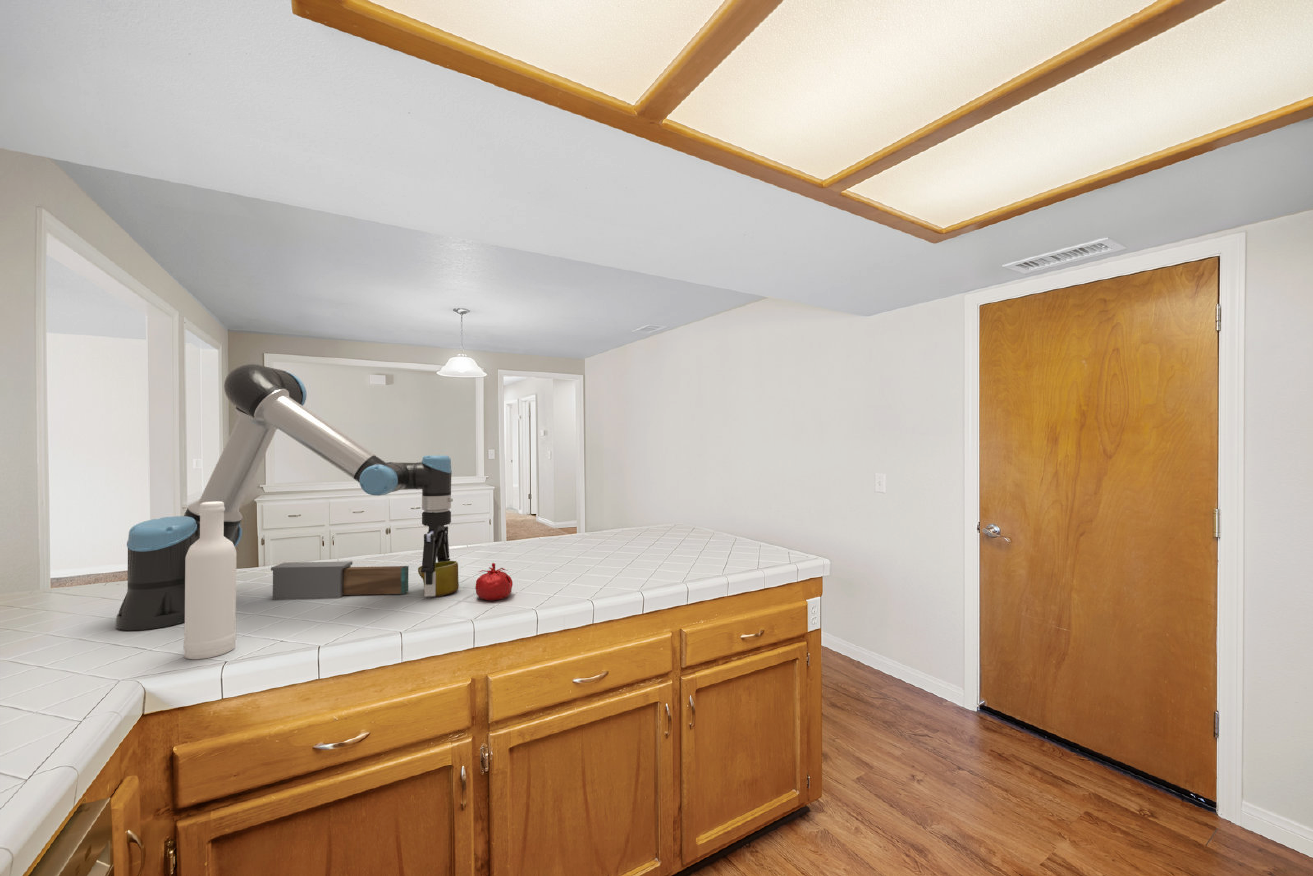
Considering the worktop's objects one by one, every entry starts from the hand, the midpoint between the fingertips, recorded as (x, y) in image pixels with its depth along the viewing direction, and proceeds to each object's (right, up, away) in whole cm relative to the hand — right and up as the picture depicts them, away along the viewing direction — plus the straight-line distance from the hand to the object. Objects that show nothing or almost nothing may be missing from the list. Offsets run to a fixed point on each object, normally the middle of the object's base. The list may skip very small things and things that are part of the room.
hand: (436, 590), depth 145 cm
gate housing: (-32, 0, -3) cm, 32 cm away
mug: (0, -1, +1) cm, 1 cm away
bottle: (-28, 0, -41) cm, 50 cm away
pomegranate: (+17, -1, -4) cm, 18 cm away
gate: (-16, -1, -2) cm, 16 cm away
